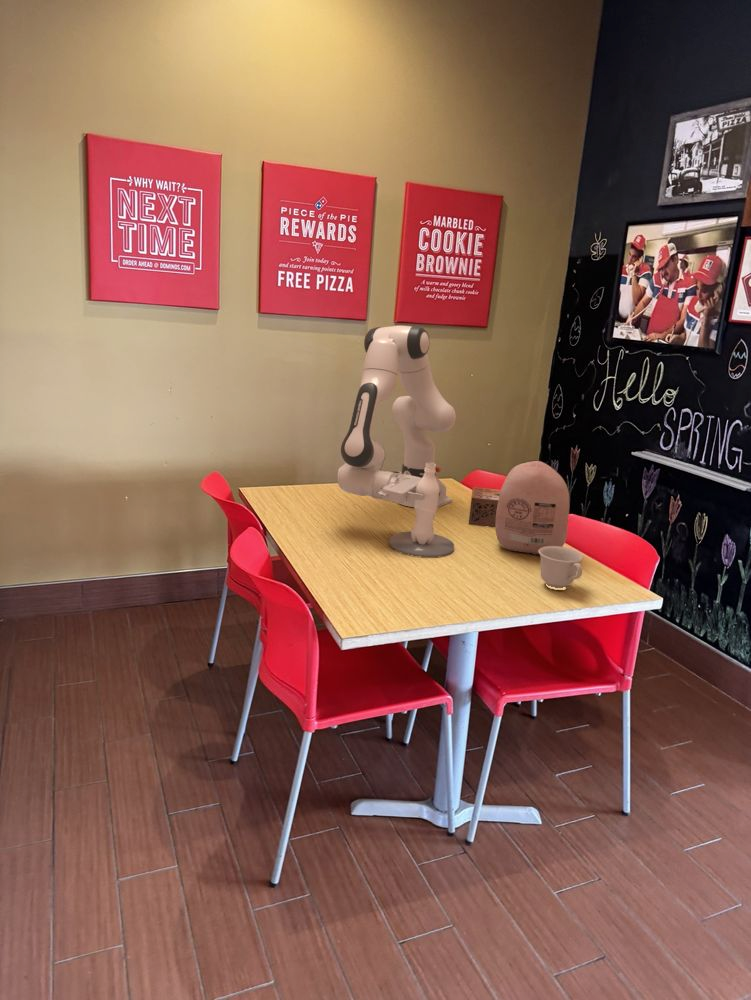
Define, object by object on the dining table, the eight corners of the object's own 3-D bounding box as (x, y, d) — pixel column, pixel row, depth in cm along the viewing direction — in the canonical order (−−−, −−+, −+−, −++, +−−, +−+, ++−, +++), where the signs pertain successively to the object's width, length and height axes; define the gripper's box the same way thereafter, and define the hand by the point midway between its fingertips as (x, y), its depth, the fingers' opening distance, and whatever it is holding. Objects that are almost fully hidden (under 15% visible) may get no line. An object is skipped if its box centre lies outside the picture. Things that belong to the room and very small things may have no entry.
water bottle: (433, 539, 227) (442, 462, 219) (433, 547, 220) (442, 467, 213) (410, 536, 227) (419, 459, 220) (409, 544, 220) (418, 465, 213)
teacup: (557, 602, 189) (563, 567, 186) (524, 580, 202) (529, 547, 199) (594, 598, 194) (600, 563, 191) (559, 577, 207) (565, 544, 204)
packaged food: (564, 548, 232) (578, 457, 223) (562, 569, 213) (577, 470, 205) (495, 537, 237) (507, 448, 228) (488, 556, 219) (500, 460, 210)
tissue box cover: (468, 525, 248) (471, 497, 246) (469, 513, 262) (472, 486, 259) (544, 534, 245) (548, 506, 242) (541, 521, 259) (545, 494, 256)
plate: (418, 531, 237) (419, 527, 237) (466, 549, 224) (467, 545, 224) (376, 542, 223) (376, 539, 223) (424, 562, 210) (425, 558, 210)
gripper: (374, 483, 213) (418, 491, 208) (398, 469, 232) (439, 476, 227) (372, 503, 215) (416, 512, 210) (397, 488, 233) (437, 496, 228)
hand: (428, 493), depth 219 cm, fingers open, 8 cm apart
